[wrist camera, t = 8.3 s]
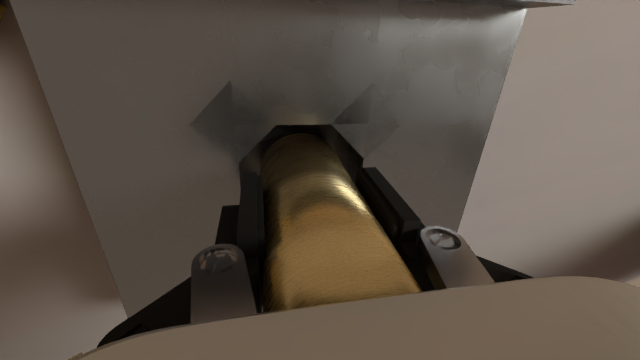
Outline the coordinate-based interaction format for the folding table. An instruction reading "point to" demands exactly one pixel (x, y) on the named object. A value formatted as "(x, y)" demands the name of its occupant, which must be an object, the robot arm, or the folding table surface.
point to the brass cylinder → (321, 232)
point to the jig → (260, 106)
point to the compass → (2, 11)
